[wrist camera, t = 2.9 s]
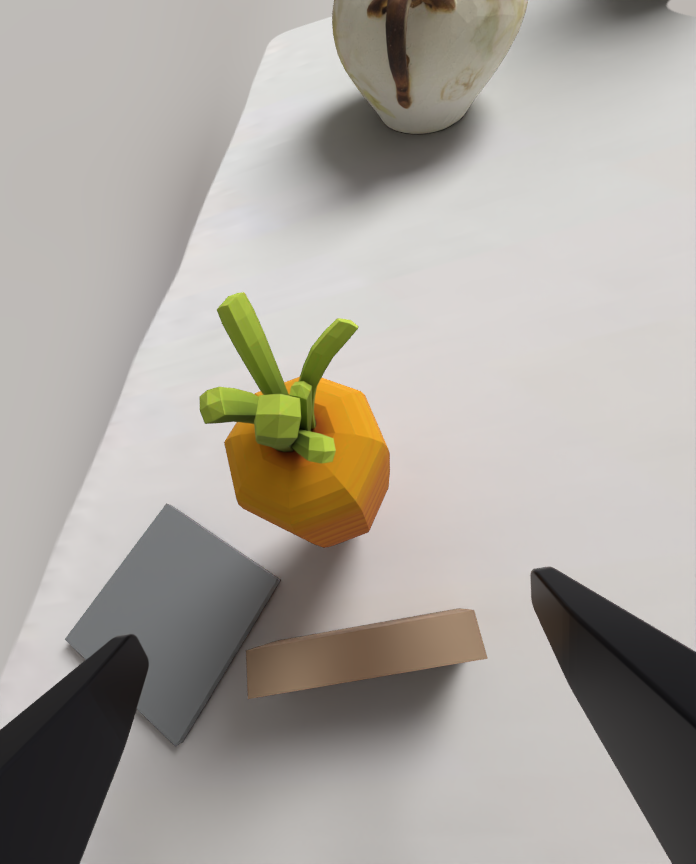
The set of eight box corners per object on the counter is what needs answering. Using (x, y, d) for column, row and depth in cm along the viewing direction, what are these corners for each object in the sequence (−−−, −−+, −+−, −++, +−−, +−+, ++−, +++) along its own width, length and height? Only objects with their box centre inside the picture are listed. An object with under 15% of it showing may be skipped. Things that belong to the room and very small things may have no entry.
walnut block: (459, 608, 18) (474, 610, 14) (469, 646, 17) (487, 658, 14) (276, 640, 18) (246, 650, 15) (279, 678, 18) (247, 699, 14)
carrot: (309, 473, 22) (153, 260, 8) (395, 474, 21) (383, 242, 7) (299, 564, 20) (71, 481, 6) (394, 568, 19) (377, 486, 5)
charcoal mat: (182, 741, 17) (175, 746, 17) (74, 638, 20) (64, 639, 19) (280, 579, 19) (277, 578, 19) (172, 505, 22) (166, 503, 21)
